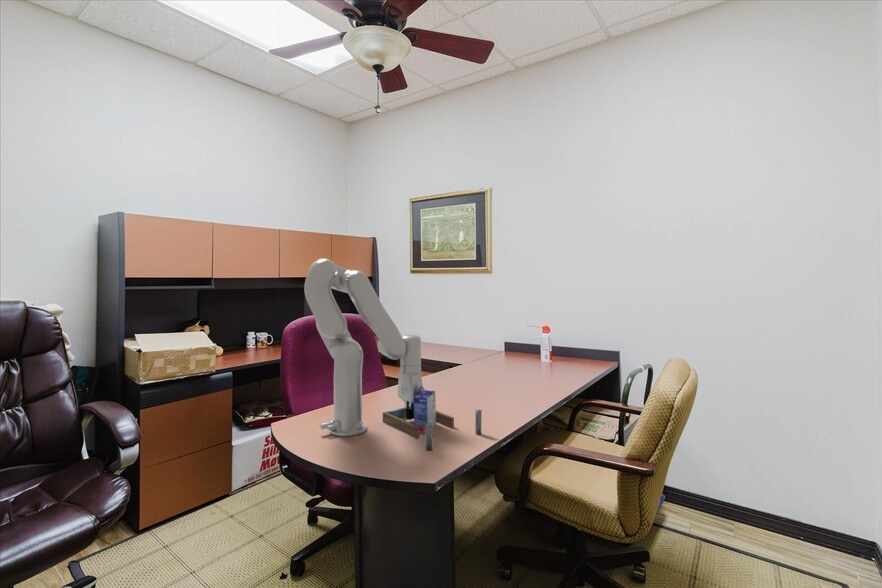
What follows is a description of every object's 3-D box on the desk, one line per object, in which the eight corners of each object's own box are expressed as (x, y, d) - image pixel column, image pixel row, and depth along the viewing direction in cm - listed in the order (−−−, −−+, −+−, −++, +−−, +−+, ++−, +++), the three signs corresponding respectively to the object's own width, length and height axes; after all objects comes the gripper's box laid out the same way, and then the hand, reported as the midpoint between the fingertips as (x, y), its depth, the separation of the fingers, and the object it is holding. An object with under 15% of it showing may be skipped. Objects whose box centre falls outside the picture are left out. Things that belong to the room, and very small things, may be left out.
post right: (478, 435, 140) (478, 411, 140) (474, 433, 141) (474, 410, 141) (482, 434, 141) (482, 410, 141) (478, 432, 143) (478, 409, 143)
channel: (416, 438, 137) (416, 427, 137) (382, 421, 154) (382, 412, 154) (453, 427, 148) (453, 417, 148) (418, 413, 164) (418, 404, 164)
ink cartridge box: (422, 422, 153) (421, 383, 152) (436, 424, 151) (436, 384, 151) (412, 432, 143) (412, 390, 143) (428, 433, 142) (428, 391, 141)
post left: (428, 451, 127) (428, 425, 126) (424, 449, 128) (424, 423, 128) (433, 449, 128) (433, 423, 128) (429, 447, 130) (429, 422, 129)
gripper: (390, 367, 157) (391, 415, 157) (414, 373, 145) (414, 426, 146) (407, 364, 162) (407, 411, 162) (431, 370, 150) (431, 421, 151)
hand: (410, 418), depth 154 cm, fingers closed
